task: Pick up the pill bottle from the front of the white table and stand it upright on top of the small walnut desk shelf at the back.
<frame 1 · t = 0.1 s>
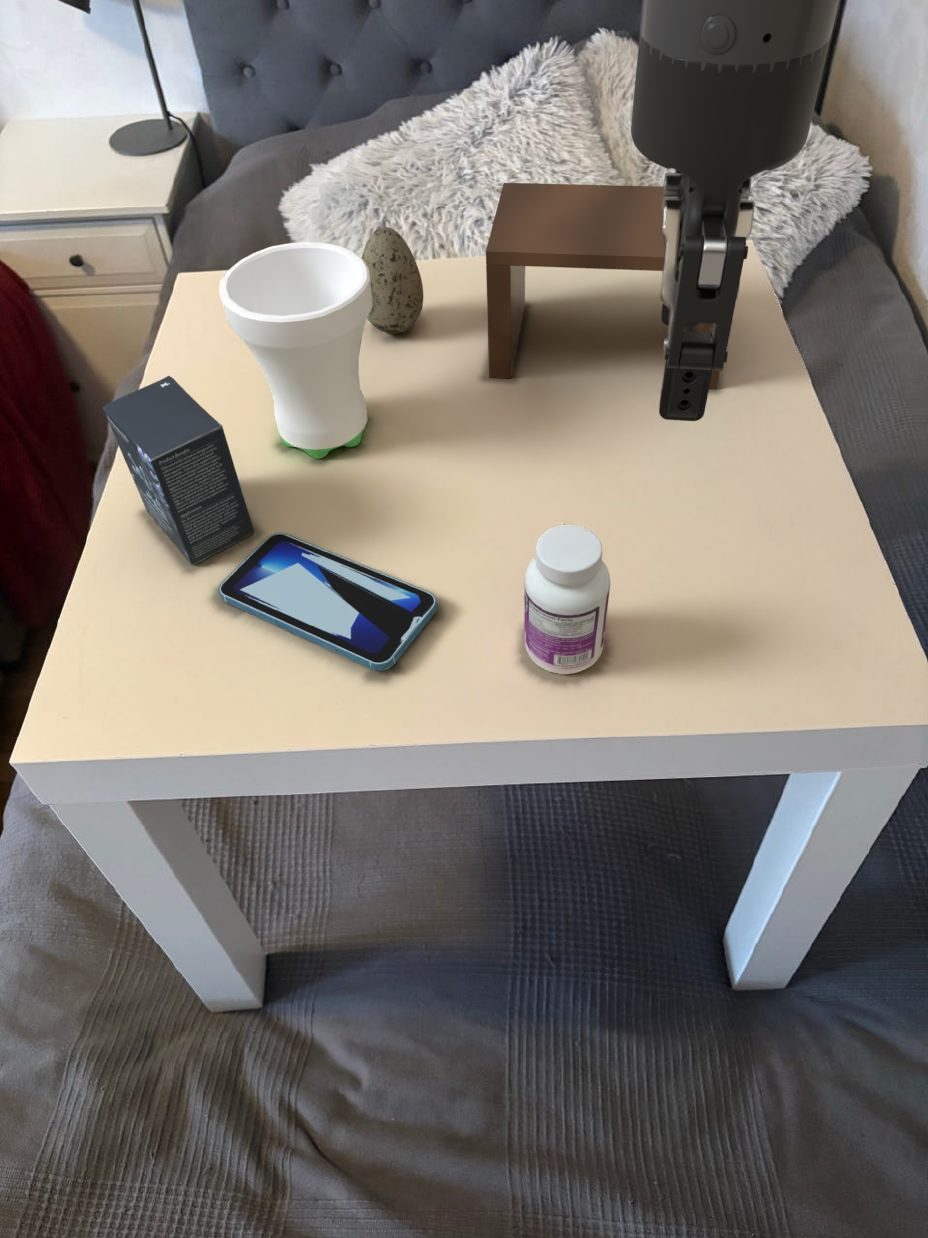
hand: (680, 366, 49), 20 cm above the table, tool pointing down, fingers open, 8 cm apart
smartphone: (328, 603, 66), on the table
desk shelf: (604, 344, 85), on the table
box: (201, 525, 72), on the table
cup: (325, 434, 79), on the table
pill bottle: (563, 647, 62), on the table
decorative egg: (395, 331, 88), on the table
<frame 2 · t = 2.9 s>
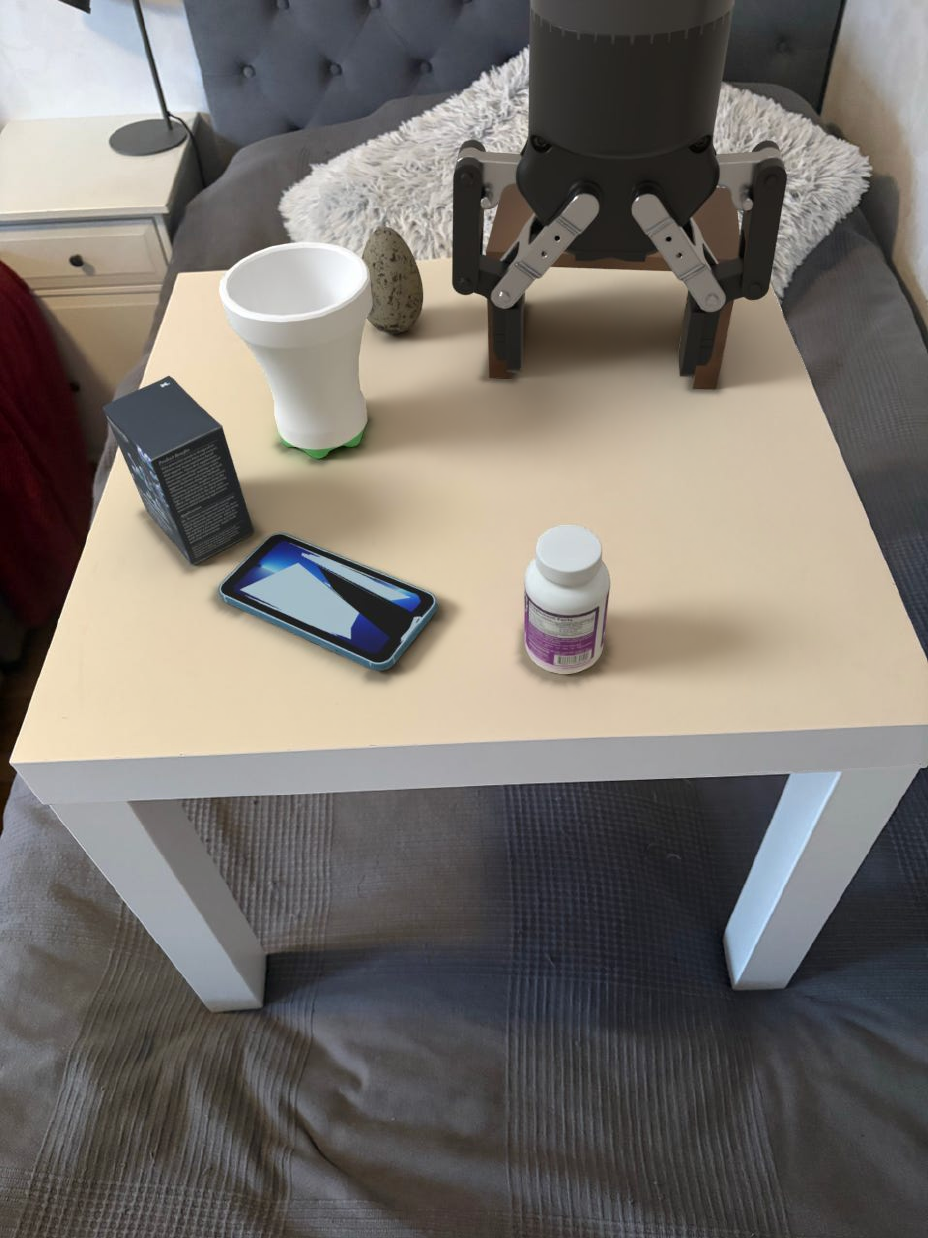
hand: (600, 365, 46), 22 cm above the table, tool pointing down, fingers open, 8 cm apart
nothing on the table moved.
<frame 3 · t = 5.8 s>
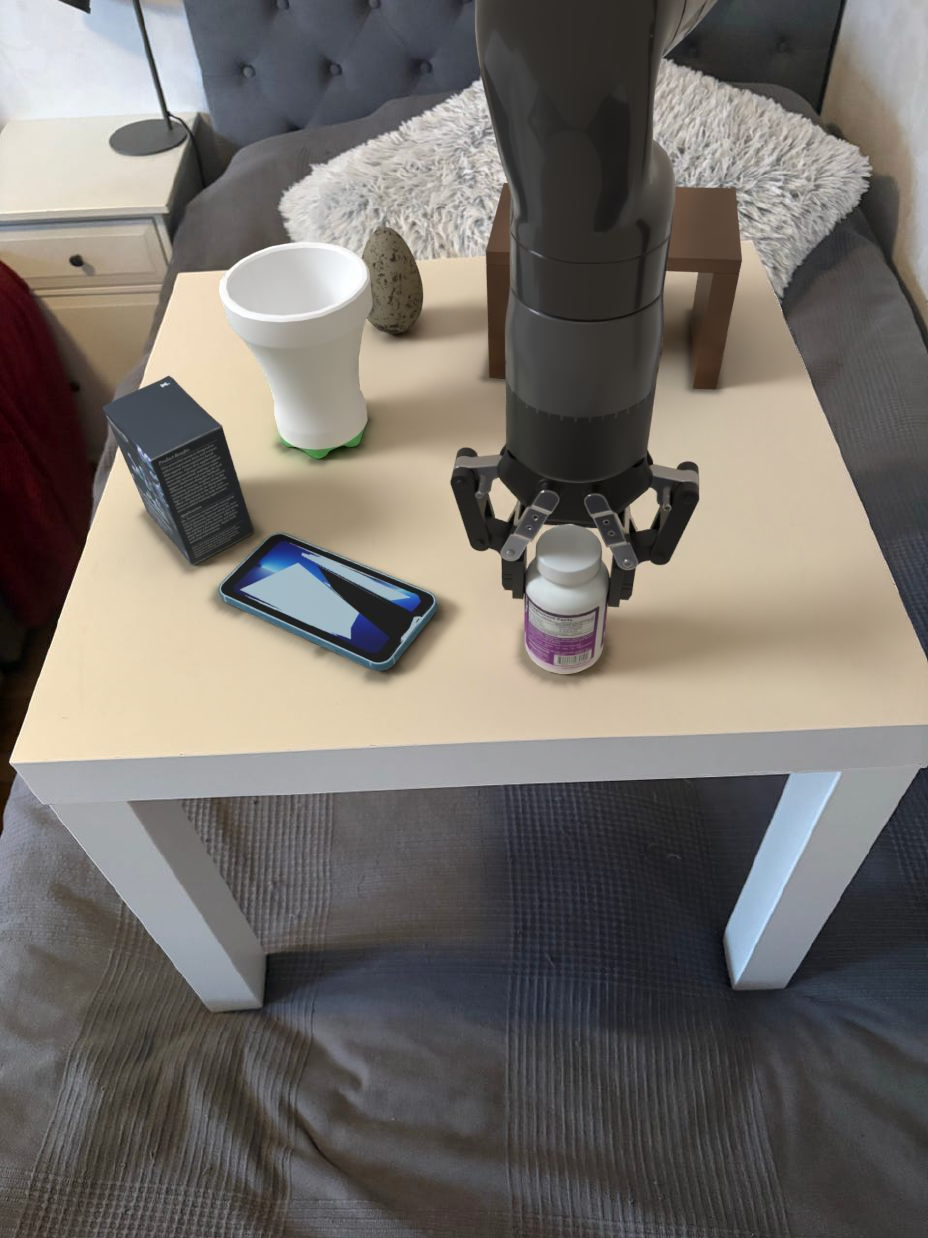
hand: (566, 592, 58), 5 cm above the table, tool pointing down, fingers closed on pill bottle, 5 cm apart
pill bottle: (563, 647, 62), on the table, touching gripper
everything else where it was.
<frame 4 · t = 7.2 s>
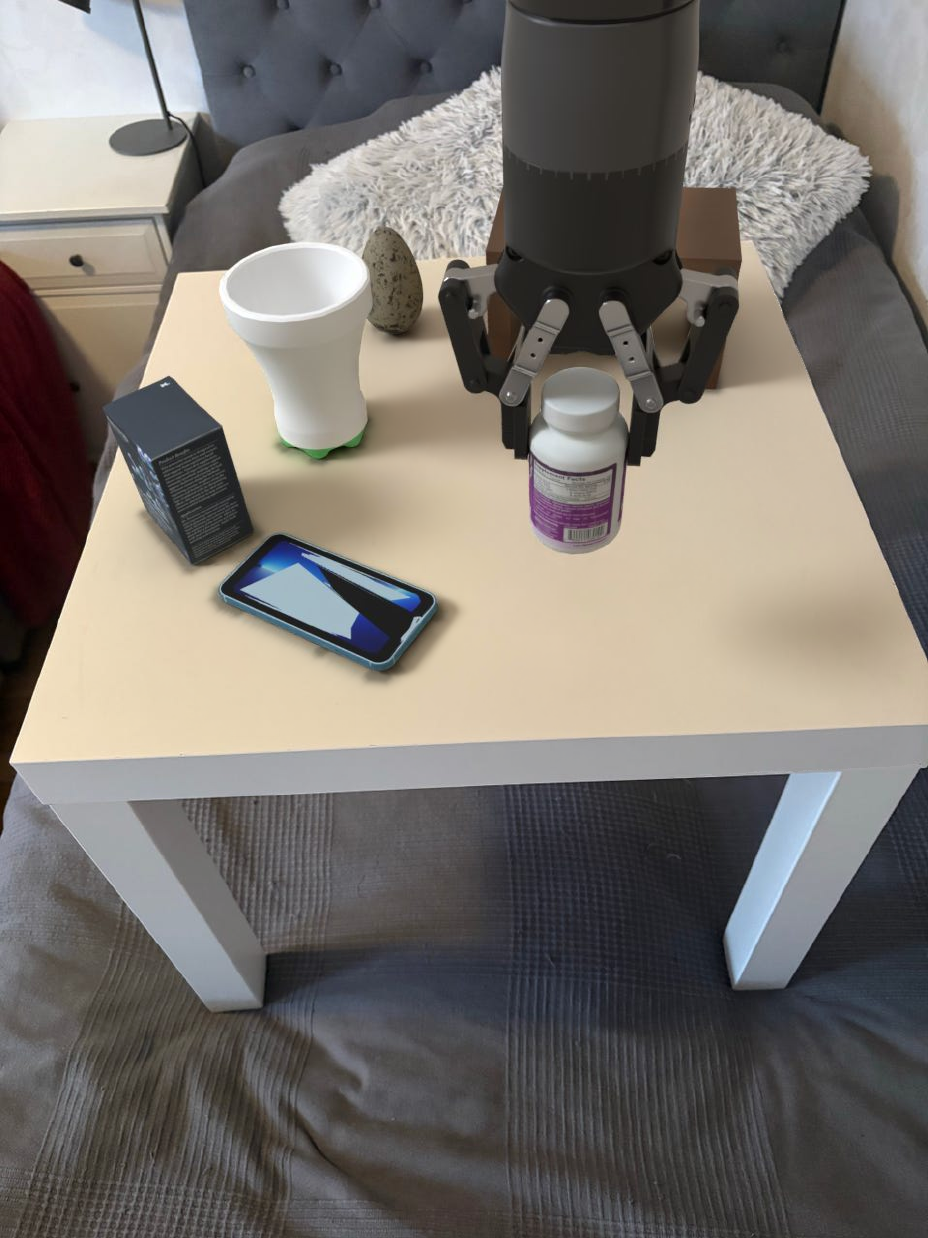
hand: (578, 452, 50), 17 cm above the table, tool pointing down, fingers closed on pill bottle, 5 cm apart
pill bottle: (574, 528, 54), point 11 cm above the table, touching gripper
everything else where it was.
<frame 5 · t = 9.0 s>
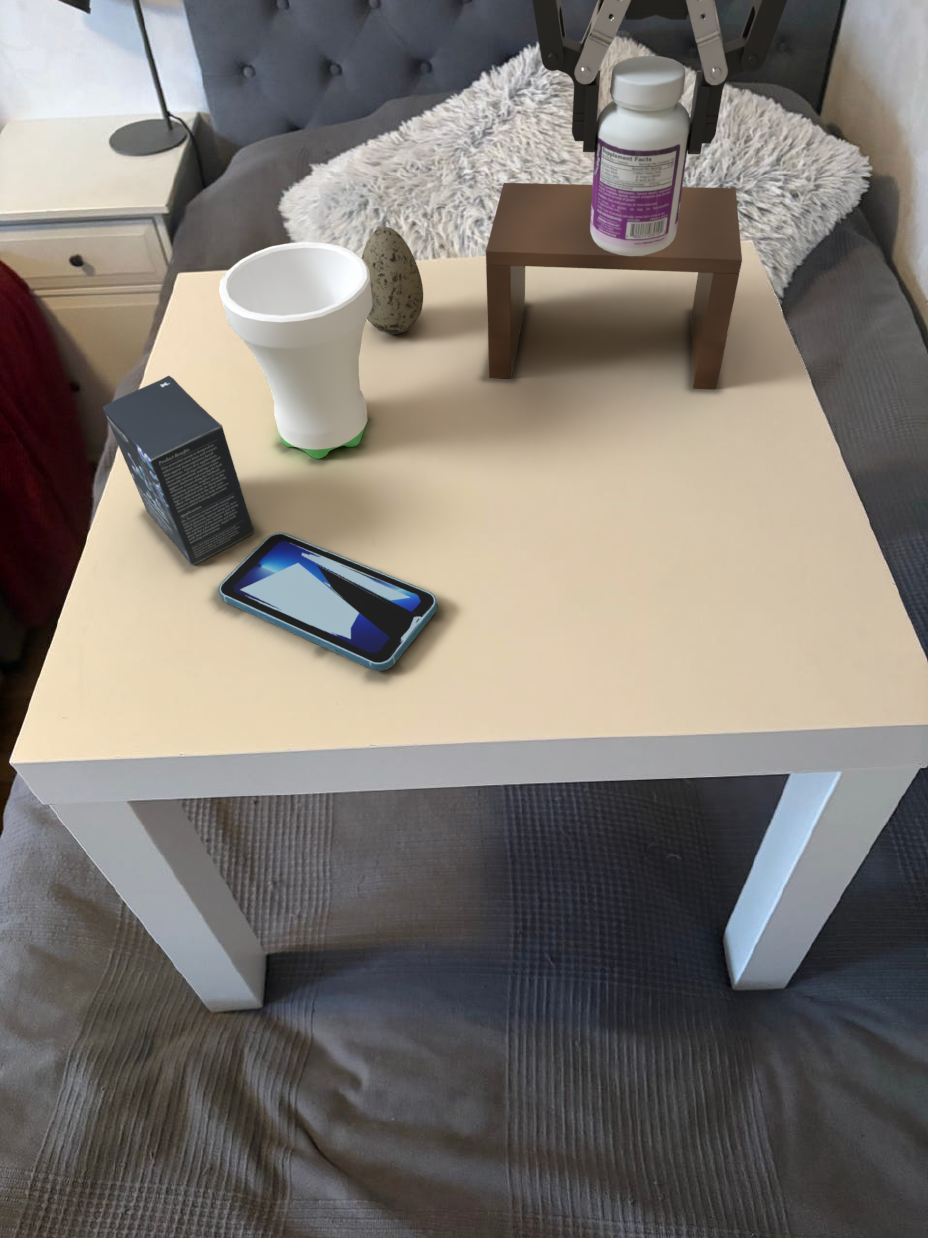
hand: (641, 146, 53), 26 cm above the table, tool pointing down, fingers closed on pill bottle, 5 cm apart
pill bottle: (631, 240, 58), point 20 cm above the table, touching gripper
everything else where it was.
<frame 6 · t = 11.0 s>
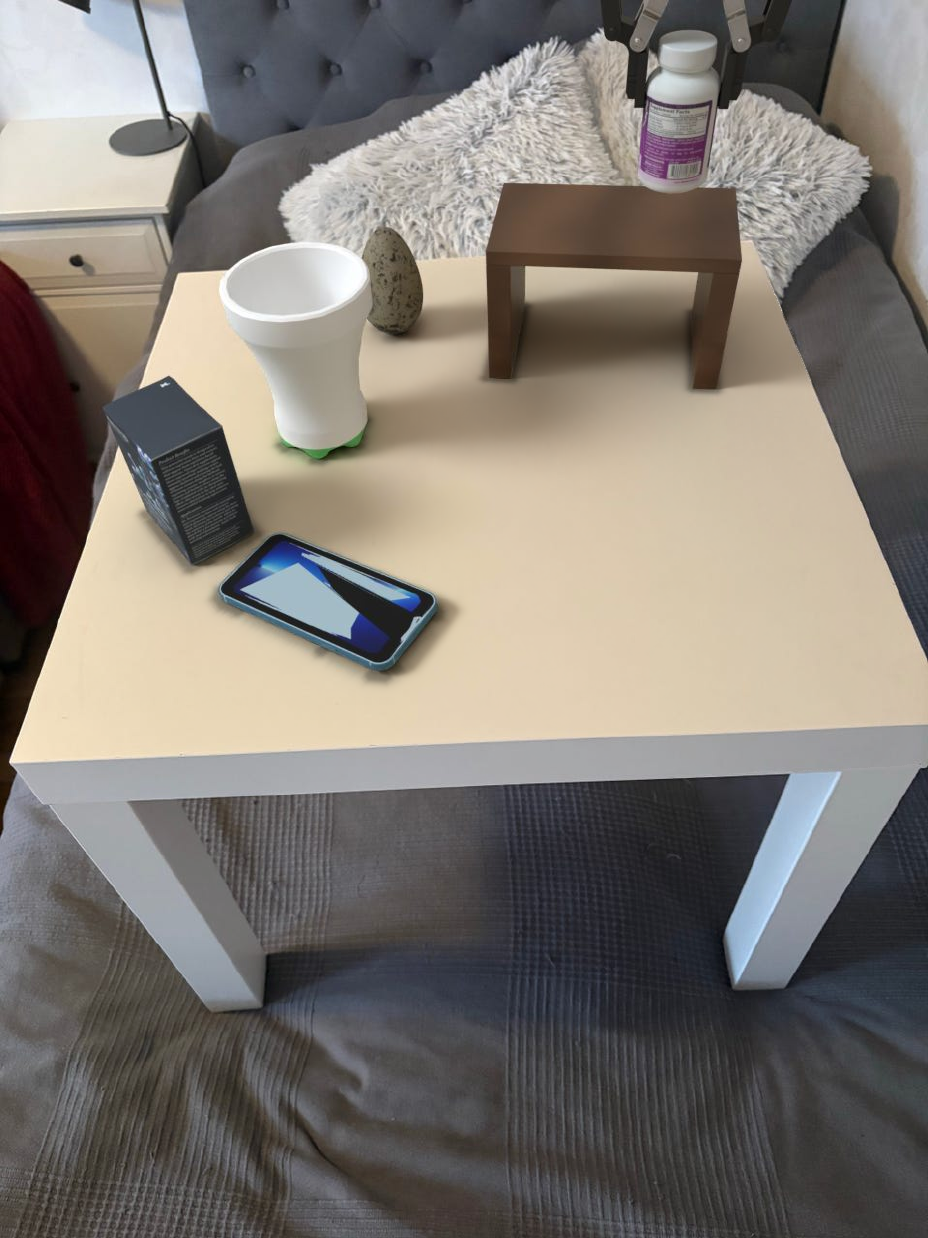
hand: (681, 103, 67), 22 cm above the table, tool pointing down, fingers closed on pill bottle, 5 cm apart
pill bottle: (670, 182, 71), point 16 cm above the table, touching gripper
everything else where it was.
when the fingers open (17 cm above the table, at t = 12.5 s): pill bottle stays where it is, resting on desk shelf.
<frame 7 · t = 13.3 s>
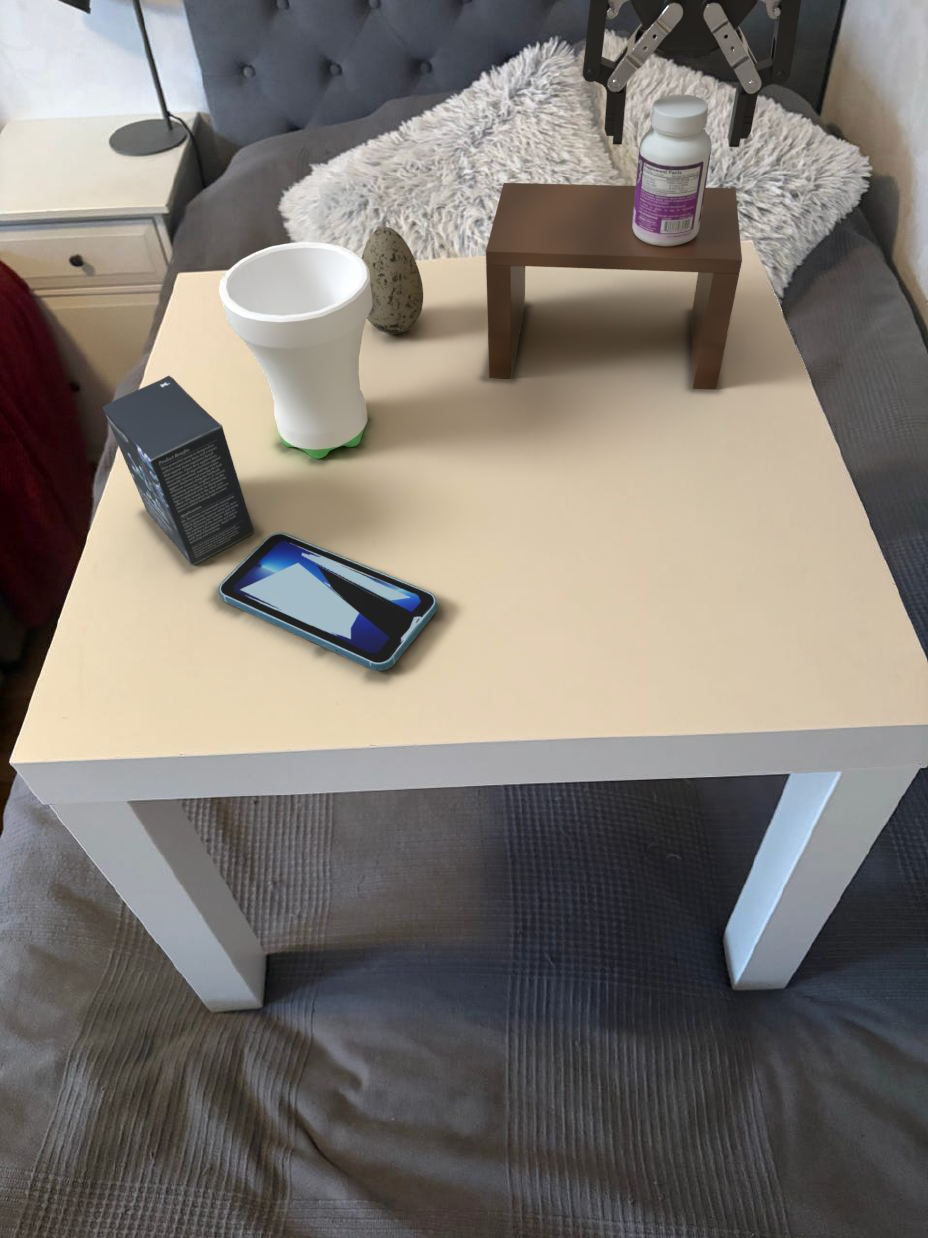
hand: (675, 141, 69), 19 cm above the table, tool pointing down, fingers open, 8 cm apart
pill bottle: (664, 234, 74), point 12 cm above the table, touching desk shelf
everything else where it was.
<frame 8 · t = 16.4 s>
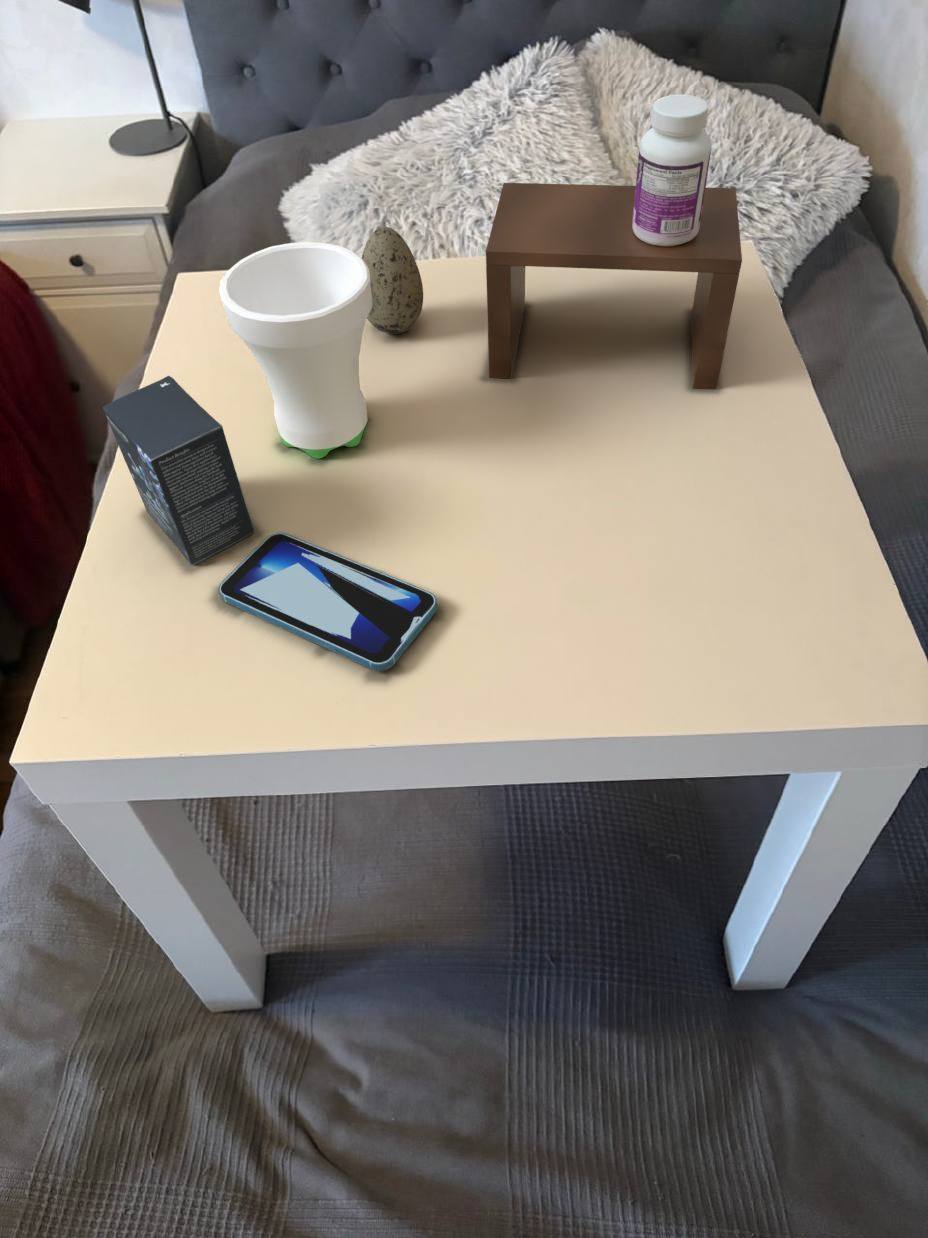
nothing on the table moved.
at the end: pill bottle inside the target area on the desk shelf (4.4 cm from its centre), point 11.8 cm above the desk shelf's base; pill bottle tilted 0°; the gripper is holding nothing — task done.
